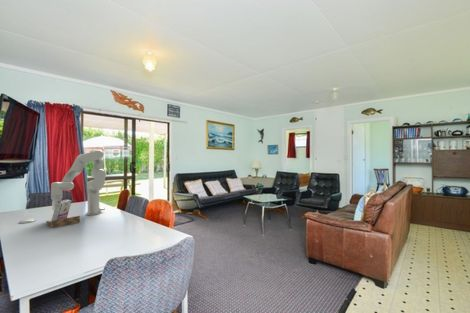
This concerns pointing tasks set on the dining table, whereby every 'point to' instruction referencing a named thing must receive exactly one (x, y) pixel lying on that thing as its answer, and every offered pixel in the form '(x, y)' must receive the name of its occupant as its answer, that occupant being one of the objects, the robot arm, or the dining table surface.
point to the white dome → (27, 220)
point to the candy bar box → (61, 209)
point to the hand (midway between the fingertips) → (56, 218)
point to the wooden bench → (63, 221)
